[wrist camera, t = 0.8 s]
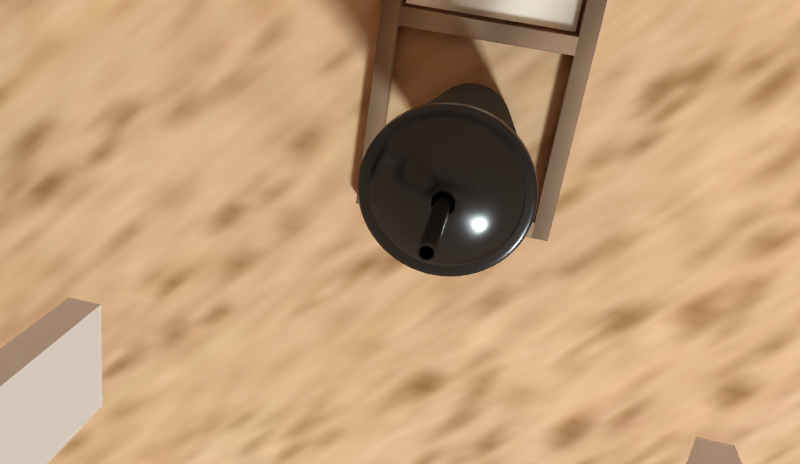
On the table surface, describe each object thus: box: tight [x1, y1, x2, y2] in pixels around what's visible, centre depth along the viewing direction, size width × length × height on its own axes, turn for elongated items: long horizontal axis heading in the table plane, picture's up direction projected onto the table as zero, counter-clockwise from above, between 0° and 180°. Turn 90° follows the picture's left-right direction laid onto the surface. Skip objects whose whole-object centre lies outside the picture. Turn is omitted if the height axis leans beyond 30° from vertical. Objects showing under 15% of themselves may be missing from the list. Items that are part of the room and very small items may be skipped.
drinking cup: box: [358, 84, 538, 276], centre depth 33 cm, size 8×8×20 cm
